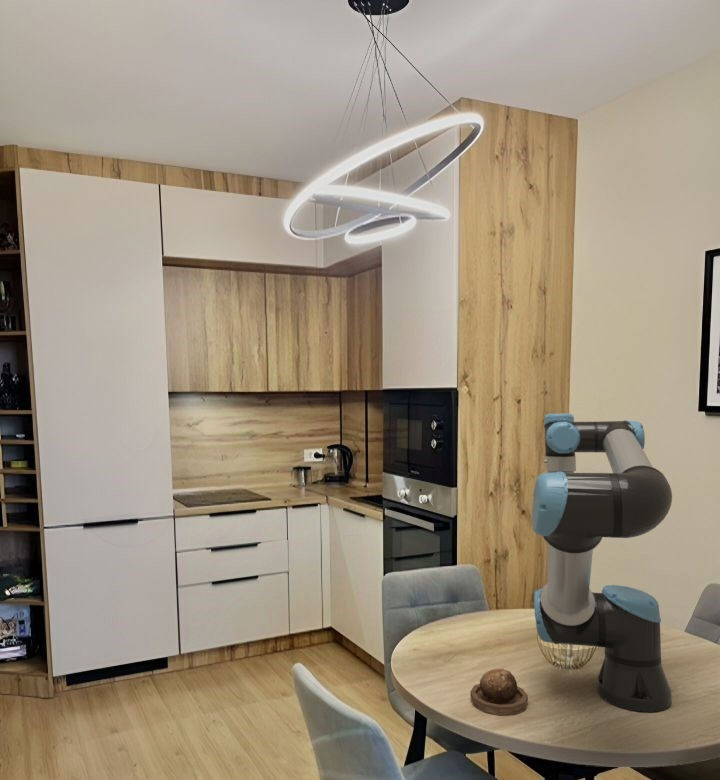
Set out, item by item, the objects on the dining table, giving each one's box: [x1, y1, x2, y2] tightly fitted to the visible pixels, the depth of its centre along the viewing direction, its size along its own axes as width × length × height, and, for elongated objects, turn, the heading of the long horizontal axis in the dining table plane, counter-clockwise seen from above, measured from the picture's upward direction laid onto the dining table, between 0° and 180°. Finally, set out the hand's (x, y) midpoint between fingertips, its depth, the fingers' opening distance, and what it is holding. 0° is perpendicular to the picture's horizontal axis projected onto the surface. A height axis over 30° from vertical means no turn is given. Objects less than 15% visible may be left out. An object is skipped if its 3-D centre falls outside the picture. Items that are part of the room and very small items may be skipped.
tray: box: [469, 683, 529, 717], centre depth 133 cm, size 12×12×2 cm
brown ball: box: [479, 668, 518, 703], centre depth 133 cm, size 8×8×6 cm
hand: (562, 554), depth 157 cm, fingers open, 13 cm apart
